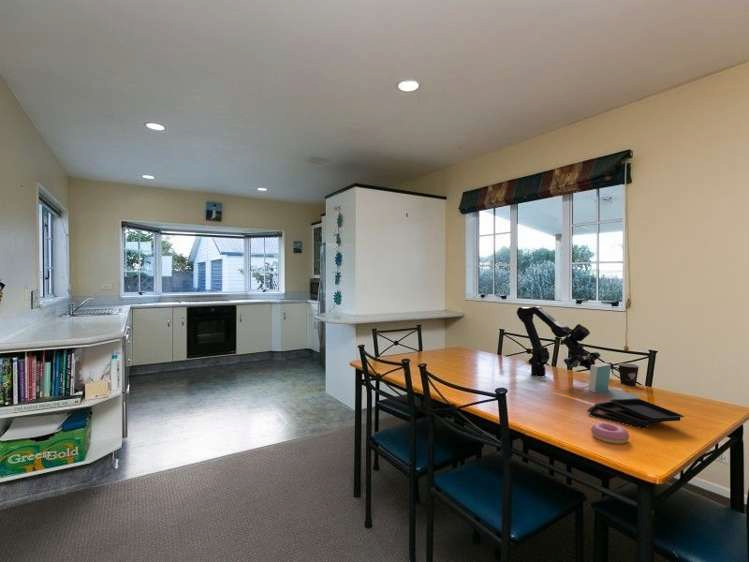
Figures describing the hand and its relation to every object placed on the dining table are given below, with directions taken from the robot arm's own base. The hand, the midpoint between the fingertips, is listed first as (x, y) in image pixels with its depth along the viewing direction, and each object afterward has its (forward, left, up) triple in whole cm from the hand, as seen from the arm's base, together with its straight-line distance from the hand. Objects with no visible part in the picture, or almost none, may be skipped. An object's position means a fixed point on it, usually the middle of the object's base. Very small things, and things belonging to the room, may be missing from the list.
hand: (596, 373), depth 180 cm
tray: (+15, -32, -9) cm, 37 cm away
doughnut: (+8, -59, -9) cm, 60 cm away
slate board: (+7, -3, -8) cm, 11 cm away
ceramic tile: (+1, 0, -7) cm, 7 cm away
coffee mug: (+11, +23, -9) cm, 27 cm away
